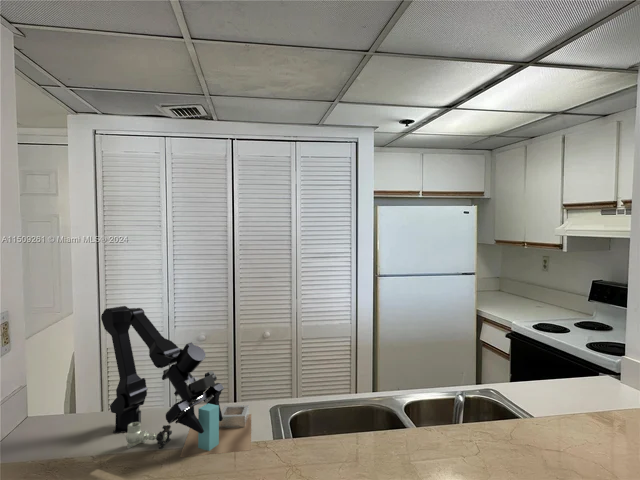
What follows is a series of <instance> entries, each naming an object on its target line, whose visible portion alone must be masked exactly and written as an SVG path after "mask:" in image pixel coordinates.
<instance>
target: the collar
mask: <svg viewBox="0 0 640 480" xmlns="http://www.w3.org/2000/svg"><path fill="white" fill-rule="evenodd" d="M221 413H222V417H223V420H222V421H219V428H236V427H245V425H246V422H247V419H248V417H249V414H250V405H249V404H246V405H245V404H244V405H243V404H242V405H237V404H236V405H224V406H223V407H222V409H221Z"/></svg>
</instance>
